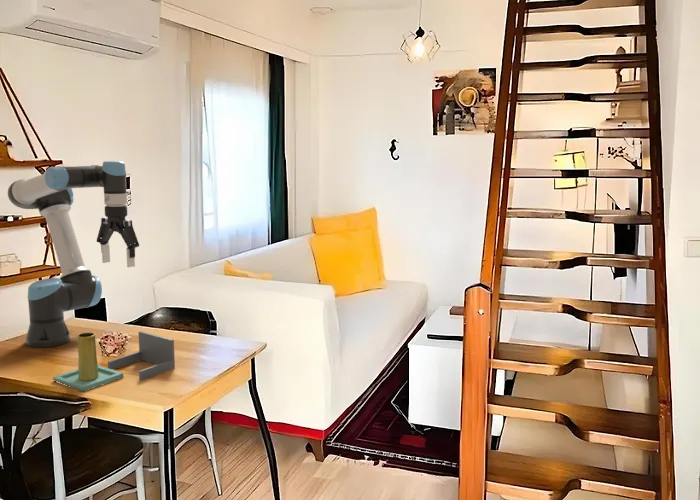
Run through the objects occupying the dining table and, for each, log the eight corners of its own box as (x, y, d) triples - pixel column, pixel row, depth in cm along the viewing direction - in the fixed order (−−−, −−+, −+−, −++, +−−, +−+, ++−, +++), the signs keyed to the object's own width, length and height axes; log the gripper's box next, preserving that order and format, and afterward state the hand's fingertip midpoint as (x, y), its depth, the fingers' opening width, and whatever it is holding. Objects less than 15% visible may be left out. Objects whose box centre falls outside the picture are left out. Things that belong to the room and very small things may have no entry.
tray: (53, 381, 207) (53, 377, 207) (94, 368, 220) (94, 363, 220) (82, 391, 199) (82, 387, 199) (123, 377, 212) (123, 373, 212)
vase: (83, 373, 213) (80, 331, 210) (101, 374, 212) (99, 332, 210) (75, 380, 207) (72, 337, 204) (94, 381, 206) (91, 337, 204)
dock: (108, 370, 218) (106, 341, 217) (141, 358, 230) (140, 331, 228) (141, 380, 209) (140, 350, 208) (174, 368, 221) (173, 339, 219)
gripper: (84, 203, 234) (87, 262, 237) (130, 208, 221) (133, 270, 224) (102, 202, 240) (105, 259, 244) (148, 206, 227) (150, 266, 230)
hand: (118, 264), depth 234 cm, fingers open, 13 cm apart
